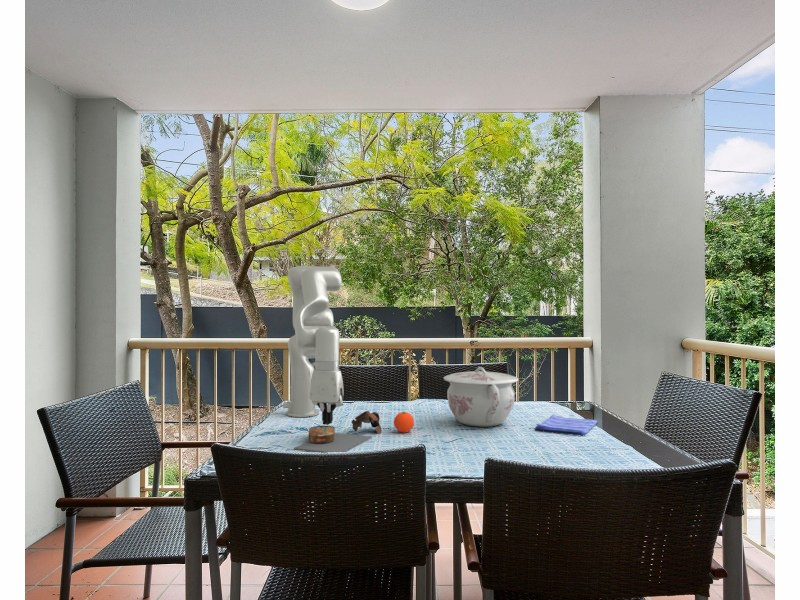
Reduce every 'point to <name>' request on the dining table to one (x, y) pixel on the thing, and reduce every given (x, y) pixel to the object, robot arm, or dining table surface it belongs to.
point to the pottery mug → (367, 420)
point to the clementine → (403, 422)
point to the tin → (321, 434)
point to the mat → (335, 443)
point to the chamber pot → (481, 397)
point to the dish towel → (566, 425)
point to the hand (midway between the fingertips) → (327, 423)
